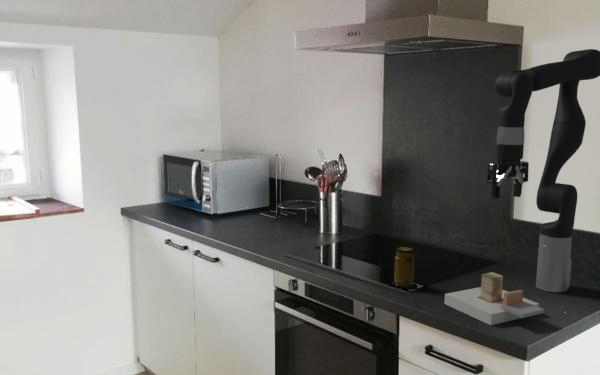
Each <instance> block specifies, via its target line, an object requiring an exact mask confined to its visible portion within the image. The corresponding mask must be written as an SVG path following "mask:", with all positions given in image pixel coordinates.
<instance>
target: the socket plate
mask: <svg viewBox="0 0 600 375" xmlns="http://www.w3.org/2000/svg"><path fill="white" fill-rule="evenodd" d="M506 292H508V291H507V290H505V289H502V299H501V301H500V302H495V303H489V302H487V301H484V300H482V299H480V297H481V286H480V287H474V288H469V289H462V290H458V291H454V292H448V293H445V294H444V304H445V305H447V306H448V307H451V308H453V309H454V310H457V311H458V312H461V313H464V314H466V315H467V314H468V316H469V317H471V318H474V319H477V320H478V321H481V322H483V323H485V324H487V325H489V326H493V325H497V324H498V325H499V324H501V323H502V324H503V323H507V322H511V321H515V320H519V319H522V318H521V317H519V316H517V315H514V314H512V313H510V312H507V311H505V310H502V309H500V305H503V298H504V293H506ZM523 301H524V302H527V303H529V304H532V305H535V306H537V307H540V303H538V302H536V301H534V300H530V299H528V298H525V297H523Z"/></svg>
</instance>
